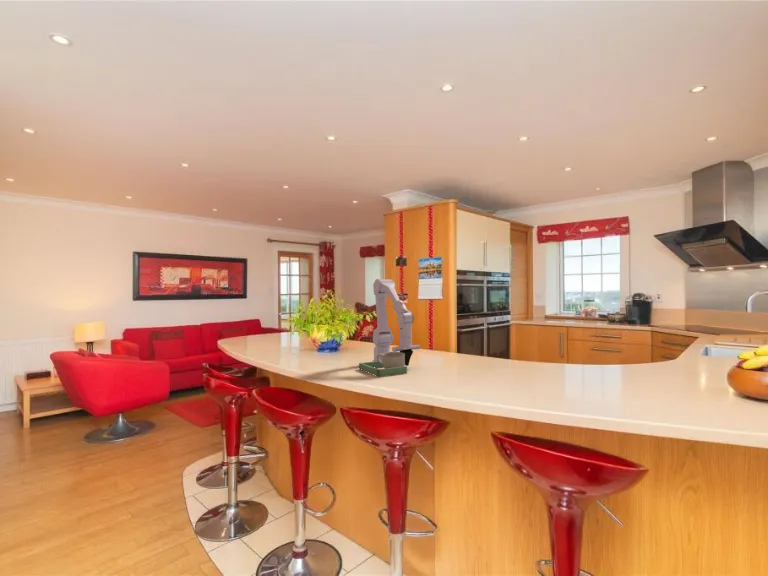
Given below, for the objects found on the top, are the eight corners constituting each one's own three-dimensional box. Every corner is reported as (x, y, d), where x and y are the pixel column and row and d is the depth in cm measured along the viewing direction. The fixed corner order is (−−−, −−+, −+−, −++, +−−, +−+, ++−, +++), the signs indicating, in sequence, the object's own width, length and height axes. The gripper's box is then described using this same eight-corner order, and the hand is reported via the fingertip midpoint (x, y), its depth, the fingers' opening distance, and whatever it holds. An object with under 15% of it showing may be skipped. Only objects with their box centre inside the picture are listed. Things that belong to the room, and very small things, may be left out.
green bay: (359, 369, 185) (359, 363, 185) (386, 366, 191) (386, 360, 191) (377, 377, 167) (377, 370, 167) (407, 373, 173) (406, 366, 173)
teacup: (409, 369, 182) (409, 352, 182) (397, 373, 173) (397, 355, 173) (384, 367, 189) (384, 350, 190) (372, 370, 180) (372, 353, 180)
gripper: (396, 338, 178) (397, 368, 178) (423, 336, 185) (423, 365, 185) (389, 337, 185) (390, 365, 184) (415, 335, 191) (415, 362, 191)
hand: (406, 365), depth 185 cm, fingers closed
